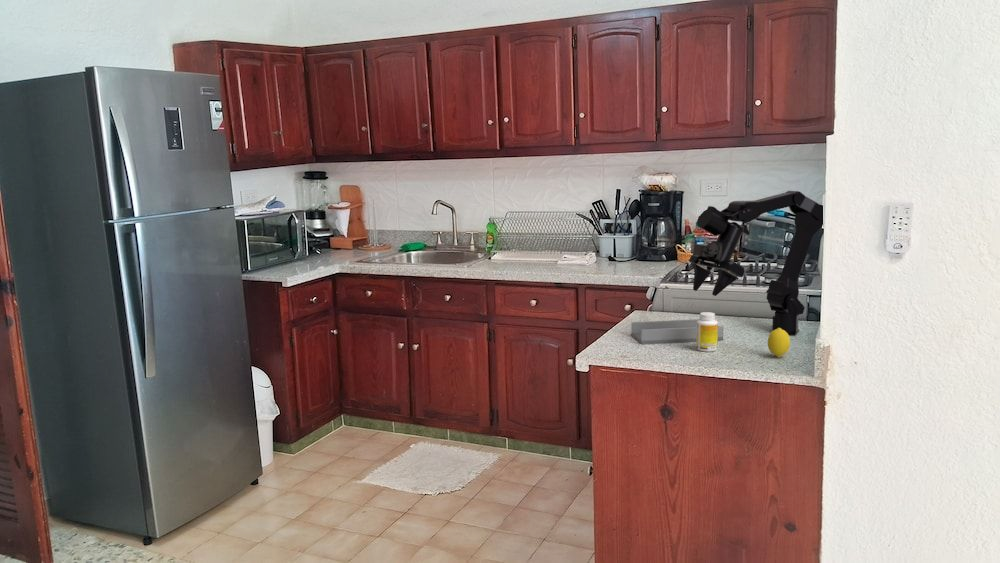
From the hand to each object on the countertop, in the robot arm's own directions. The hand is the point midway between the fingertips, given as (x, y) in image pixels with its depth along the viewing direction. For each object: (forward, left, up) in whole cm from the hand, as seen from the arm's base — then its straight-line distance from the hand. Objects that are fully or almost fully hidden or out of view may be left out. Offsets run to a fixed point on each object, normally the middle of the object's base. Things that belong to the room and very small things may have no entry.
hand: (704, 292), depth 222 cm
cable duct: (+9, -3, -15) cm, 17 cm away
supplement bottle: (-3, +7, -15) cm, 17 cm away
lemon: (-22, +7, -15) cm, 28 cm away
